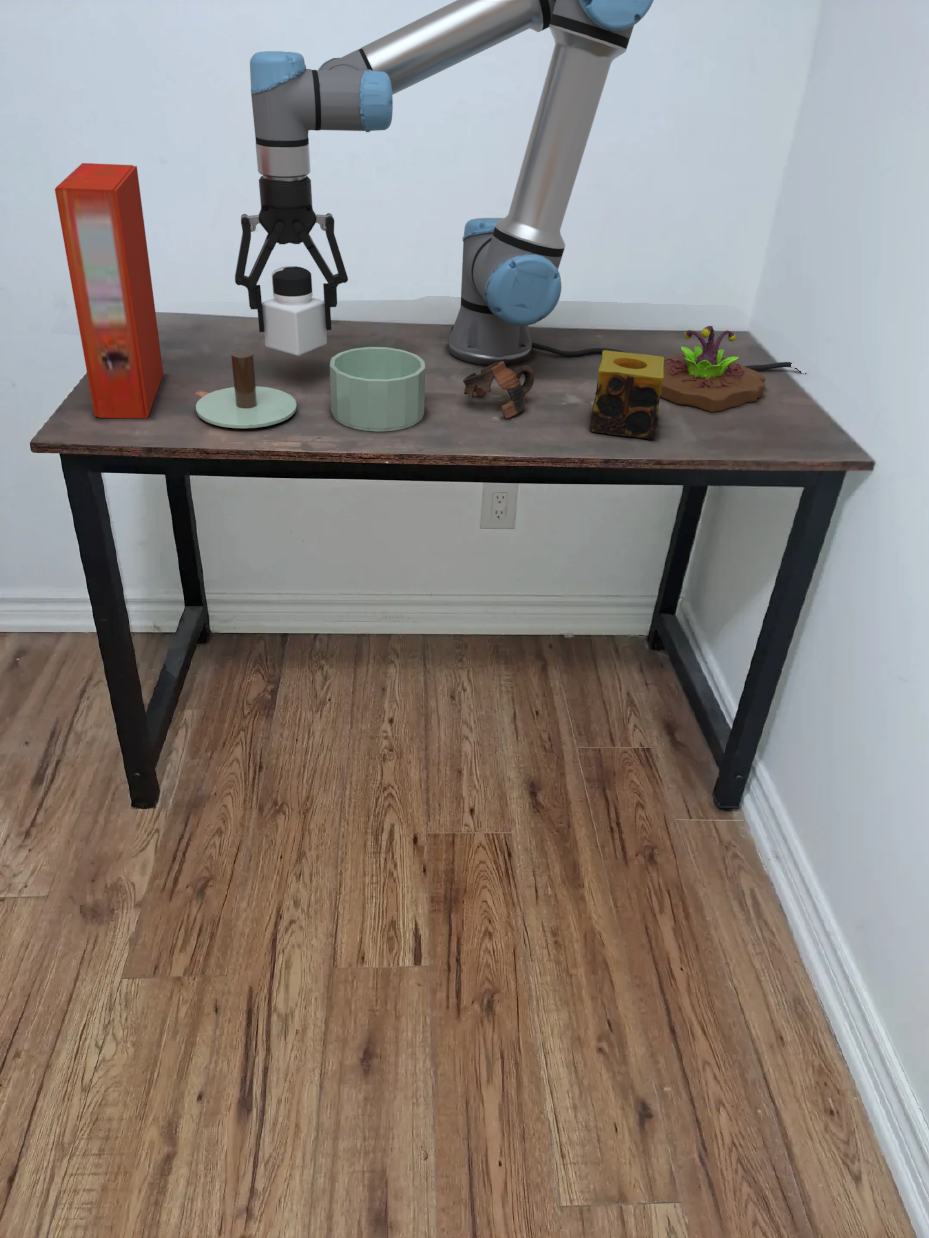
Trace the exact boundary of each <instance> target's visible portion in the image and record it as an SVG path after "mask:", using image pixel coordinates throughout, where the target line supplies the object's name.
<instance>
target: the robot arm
mask: <svg viewBox="0 0 929 1238" xmlns="http://www.w3.org/2000/svg"><path fill="white" fill-rule="evenodd" d="M654 1H655V0H455V1H453V2H450V3H449V4H446V5H445V6H442V7H440V8H438V9H437V10H434V11H432V12H430V13H428V14H427V15H424V16H421V17H420V18H418V19H416V20H414V21H412V22H410V23H407V24H406V25H404V26H402V27H400V28H398V29H396V30H394V31H392V32H390V33H388V34H386V35H384V36H382V37H379V38H377V39H376V40H374V41H371V42H369V43H367V44H365V45H363V46H361V47H360V48H358V49H356V50H353V51H351V52H349V53H347V54H345V55H343V56H341V57H332V58H331V59H328V60H325V62H323V63H322V64H321V65H320V66H319V67H318V69H311V68H307V65H306V62H305V58H304V55H302V54H301V53H299V52H295V51H293V52H292V51H281V50H266V51H265V50H264V51H258V52H255V53H254V54H253V55H252V56H251V57H250V59H249V76H250V77H249V78H250V96H251V106H252V117H253V129H254V137H255V153H256V164H257V172H258V173H259V174H260V175H261V176H260V177H259V179H258V188H259V201H260V210H259V213H258V214H254V215H248V214H247V213H242V214H241V216H240V225H241V230H242V234H241V239H240V245H239V250H238V256H237V261H236V268H235V272H234V273H235V274H234V283H235V285H237V286H242V287H244V288H246V289H247V294H248V295H247V296H248V304H249V305H248V306H249V308H250V310H257V321H258V330H259V331H258V332H259V333H264V322H263V311H262V303H263V301H262V290H261V284H258V282H259V280H260V279H261V276H262V274H263V272H264V269H265V267H266V265H267V263H268V261H269V259H270V256H271V254H272V252H273V250H274V249H275V247H276V244H278V245H288V244H293V245H301V243H302V244H303V245H304V247H305V248H306V250H307V251H308V253H309V254H310V256H311V258H312V259H313V260H314V262H315V264H316V266H317V268H318V269H319V271H320V273H321V274H322V277H323V278H324V279H325V281H326V283H324V282H323V283H322V287H323V301H324V302H325V317H326V331H332V313H331V310H332V309H331V308H337V306H338V286H339V285H341V284H346V283H348V281H349V277H348V274H347V271H346V268H345V264H344V260H343V258H342V254H341V251H340V247H339V245H338V241H337V238H336V235H335V218H334V216H333V214H332V213H330V212H328V213H326V214H316V212H315V211H314V209H313V207H314V206H313V191H312V179H310V176H308V175H309V174H310V173H311V157H310V155H311V154H310V140H309V139H310V138H309V131H317V132H318V131H342V132H343V131H344V132H345V131H347V132H348V131H349V132H365V133H371V132H374V131H386V130H388V129H389V128H390V127H391V125H392V120H393V113H394V112H393V109H394V107H393V106H394V105H393V104H394V99H393V95H396V94H397V93H399V92H401V91H404V90H406V89H408V88H410V87H412V86H414V85H417V84H418V83H420V82H422V81H424V80H426V79H428V78H431V77H433V76H434V75H437V74H439V73H440V72H443V71H445V70H447V69H449V68H451V67H453V66H455V65H457V64H460V63H462V62H463V61H466V60H467V59H469V58H472V57H474V56H476V55H478V54H480V53H482V52H484V51H486V50H488V49H490V48H492V47H494V46H497V45H498V44H500V43H503V42H504V41H507V40H508V39H511V38H514V37H515V36H517V35H519V34H521V33H523V32H525V31H527V30H532V31H535V32H536V33H540V32H542V31H545V30H547V29H549V31H550V33H551V36H552V38H553V40H554V47H553V49H552V53H551V57H550V60H549V61H550V62H549V65H548V68H547V72H546V76H545V78H544V83H543V87H542V90H541V94H540V97H539V101H538V103H537V104H538V105H537V108H536V112H535V115H534V119H533V123H532V126H531V129H530V134H529V137H528V141H527V145H526V147H525V151H524V155H523V159H522V163H521V166H520V169H519V174H518V177H517V180H516V184H515V188H514V192H513V195H512V199H511V203H510V206H509V210H508V213H507V215H506V216H505V217H478V218H473V219H469V220H468V221H466V223H465V225H464V230H463V236H462V243H463V244H462V263H461V287H460V288H461V289H460V306H459V310H458V313H457V316H456V319H455V321H454V324H453V325H452V327H451V330H450V332H449V333H450V334H449V337H448V352H449V353H450V355H452V356H453V357H455V358H457V359H458V360H461V361H463V362H466V363H470V364H474V365H481V366H490V365H492V364H494V363H497V362H500V361H503V362H504V363H505V366H511V365H517V364H521V363H523V362H525V361H527V360H528V359H530V358H531V357H532V350H533V349H536V350H541V351H545V352H549V353H551V354H555V355H558V356H562V357H579V356H585V355H591V354H602V352H603V351H604V350H607V351H615V352H626V353H629V352H628V351H623V350H620V349H614V348H608V347H593V348H586V349H585V348H584V349H580V350H563V349H562V350H561V349H558V348H555V347H552V346H549V345H544V344H541V343H536V342H533V341H532V337H531V333H530V329H529V326H532V325H535V324H537V323H539V322H540V321H542V320H545V318H547V317H548V316H549V315H550V314H551V313H552V312H553V311H554V309H555V308H556V307H557V305H558V303H559V300H560V298H561V293H562V278H561V274H560V271H559V268H560V266H561V262H562V258H563V255H564V252H565V248H566V243H565V240H564V238H563V236H562V234H561V229H562V227H563V223H564V219H565V216H566V212H567V209H568V205H569V202H570V199H571V196H572V194H573V190H574V186H575V183H576V180H577V176H578V174H579V170H580V167H581V166H580V165H582V164H581V163H582V160H583V156H584V154H585V151H586V147H587V144H588V142H589V141H588V140H589V138H590V134H591V131H592V128H593V124H594V121H595V118H596V114H597V111H598V108H599V104H600V101H601V98H602V94H603V92H604V88H605V85H606V82H607V78H608V75H609V71H610V69H611V65H612V63H613V61H614V60H616V59H617V58H619V57H620V56H621V55H623V54H625V53H626V52H627V49H628V47H629V42H630V40H631V37H632V33H633V30H634V27H635V25H637V24H638V23H639V22H640V21H641V20H642V19H643V18H644V17H645V16H646V15H647V13H648V12H649V10H650V9H651V7H652V5H653V3H654ZM259 224H260V226H261V227H262V228H263V230H265V232H266V233H267V235H266V237H265V239H264V242H263V245H262V247H261V249H260V251H259V253H258V256H257V258H256V260H255V262H254V264H253V266H252V268H251V270H250V272H249V275H248V276H247V275H245V273H246V268H247V262H248V257H249V251H250V247H251V246H250V245H251V239H252V233H253V232H255V231H256V230H257V225H259ZM316 224H318V226H319V227H320V229H321V231H324V232H325V236H326V239H327V243H328V245H329V248H330V252H331V255H332V258H333V261H334V265H335V268H336V270H337V273H335V274H334V273H333V272H332V270H331V269H330V267H329V264H328V263H327V262H326V260H325V259H324V257H323V256H322V253H321V252H320V250H319V249H318V247H317V245H316V244H315V242H314V240H313V238H312V237H311V235H310V234H311V231H312V230H313V228H314V226H315V225H316ZM791 362H792V361H783V362H782V361H779V362H773V363H767V364H753V365H743V366H744V367H746V368H749V369H752V370H755V371H767V370H774V369H779V368H781V369H782V368H791V369H793V368H792V367H791V364H792V363H791ZM794 370H797V372H799V374H802V373H801V372H800V371H799V370H798V369H797V368H794ZM802 375H803V374H802Z"/></svg>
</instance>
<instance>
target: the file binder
mask: <svg viewBox="0 0 929 1238" xmlns="http://www.w3.org/2000/svg"><path fill="white" fill-rule="evenodd" d="M139 179H140V178H139V171H138V166H137V165H133V164H116V163H93V162H92V163H91V162H81V164H79V165H78V166H77V167H76V168H75V169H73V171H72V172H70V174H68V176H66V177H65V178H64V179H63V180H62V181H61V182H60V183H59V184H57V186H56V187H55V188H54V193H55V194H54V195H55V199H56V205H57V211H58V216H59V222H60V227H61V232H62V233H61V234H62V239H63V244H64V250H65V251H64V252H65V256H66V262H67V266H68V267H67V268H68V273H69V279H70V285H71V290H72V295H73V301H74V307H75V311H76V312H75V313H76V319H77V324H78V330H79V336H80V341H81V346H82V352H83V353H82V354H83V357H84V363H85V370H86V373H87V380H88V381H87V382H88V387H89V392H90V398H91V404H92V409H93V414H94V417H96V418H98V419H149V416H150V414H151V410H152V407H153V405H154V403H155V399H156V396H157V394H158V390H159V387H160V385H161V383H162V380H163V377H164V368H163V359H162V351H161V346H160V345H161V344H160V336H159V329H158V321H157V313H156V307H155V305H156V303H155V297H154V291H153V282H152V275H151V267H150V259H149V251H148V243H147V235H146V227H145V219H144V212H143V211H144V210H143V204H142V203H143V202H142V197H141V196H142V195H141V188H140V187H141V186H140V180H139Z"/></svg>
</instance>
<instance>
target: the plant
mask: <svg viewBox="0 0 929 1238" xmlns="http://www.w3.org/2000/svg"><path fill="white" fill-rule="evenodd" d="M693 335H694V336H695V337H696V338H697V339H698V341H699V342H700V344H701V346H702V348H701V347H700V346H699V345H694V348H693V349H694V351H692V349H690V348H689V347H687V346H683V345H682V346H680V349H681V351H682V352H683V353H682V352H681V353H680V352H679V353H677V355H671V356H663V357H664V367H663V370H664V378H663V385H662V390H661V397H660V399H664V400H666V401H669V402H672V403H674V404H676V405H682V406H690V407H695V408H698V409H701V410H703V411H707V412H710V413H714V412H723V411H725V410H727V409H731V408H737V407H740V406H742V405H743V404H746V403H756V402H757V401H758V399H759V398H762V397H763V394H764V390H765V386H766V384H765V382H766V377H765V376H764V375H763V374H761V373H760V372H759V371H758V370H752V369H749V368H746V367H744V366H745V365H741V364H740V363H738V362H736V360H738V359H739V356H729V357H726V358H725V357H723V356H724V353H725V352H724V351H725V350H724V349H723V348H720V345H721V342H722V340H723V339H724V337H725V336H726V335H728V336H727V338H728V341H729V342H731V343H733V342H735V341H736V339H737V337H736V334H735V333H734V332H733V331H730V330H728V329H726V330H724V331H723V332H722V333H720V334H719V335H718V337H716V340H715V329H714V326H713V325H707V326H705V327H704V328H703V329H702V330H701V333H699V332H697V331H695V330H692V329H688V330H686V331H685V332H684V335H683V336H684V338H685V340H686V339H687V340H689V339H692V337H693ZM705 338H708V339H707V341H706V340H705Z"/></svg>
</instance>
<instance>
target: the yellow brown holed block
mask: <svg viewBox="0 0 929 1238" xmlns="http://www.w3.org/2000/svg"><path fill="white" fill-rule="evenodd" d="M626 352H627V351H624V352H615V351H607V350H604V351H603V352H602V353H601V359H600V364H599V366H598V372H597V383H596V390H595V398H594V401H593V405H592V412H591V416H590V426H589V430H590V432H592V433H596V434H603V435H611V436H616V437H617V436H618V437H628V438H629V437H630V438H631V437H633V438H638V439H644V440H648V441H653V440H655V439H656V438H655V437H656V432H657V425H658V420H659V408H660V407H659V406H660V399H661V390H662V385H663V378H664V370H663V367H664V357H665V356H660V355H652V354H645V353H644V354H643V353H634V352H628V353H626Z"/></svg>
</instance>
